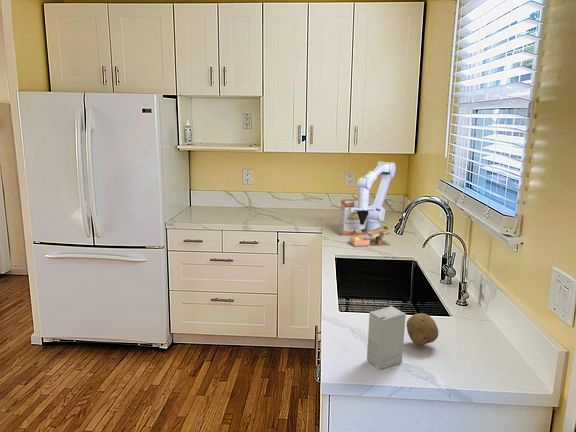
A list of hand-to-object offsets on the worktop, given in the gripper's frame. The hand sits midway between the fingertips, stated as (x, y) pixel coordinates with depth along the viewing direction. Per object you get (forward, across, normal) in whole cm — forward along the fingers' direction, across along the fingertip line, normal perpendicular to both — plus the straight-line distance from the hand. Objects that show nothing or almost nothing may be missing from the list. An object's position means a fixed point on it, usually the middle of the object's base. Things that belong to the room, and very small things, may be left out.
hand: (361, 224), depth 257 cm
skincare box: (+10, -45, -126) cm, 134 cm away
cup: (+8, -5, -10) cm, 14 cm away
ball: (+6, -7, -10) cm, 14 cm away
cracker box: (+10, 0, +14) cm, 17 cm away
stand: (+9, +1, -10) cm, 14 cm away
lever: (+4, +6, -6) cm, 9 cm away
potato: (+10, -30, -119) cm, 123 cm away
